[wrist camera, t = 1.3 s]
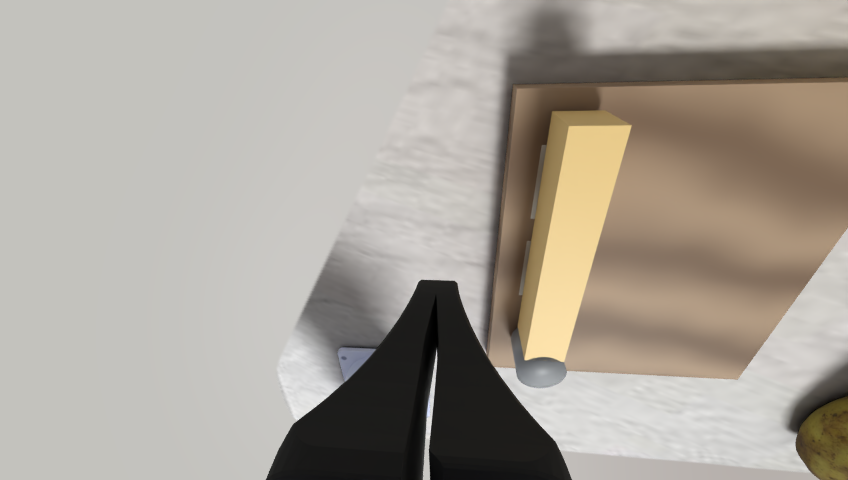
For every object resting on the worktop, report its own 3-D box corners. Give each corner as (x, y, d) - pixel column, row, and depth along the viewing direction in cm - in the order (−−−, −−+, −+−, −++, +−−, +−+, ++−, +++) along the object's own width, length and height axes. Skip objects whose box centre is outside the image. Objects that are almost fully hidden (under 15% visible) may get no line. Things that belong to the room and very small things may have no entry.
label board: (724, 363, 27) (738, 380, 26) (486, 351, 29) (487, 367, 28) (916, 75, 16) (957, 80, 15) (512, 84, 18) (517, 89, 17)
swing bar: (551, 353, 26) (561, 389, 23) (508, 351, 26) (514, 386, 24) (612, 110, 16) (640, 125, 14) (544, 111, 17) (560, 126, 14)
